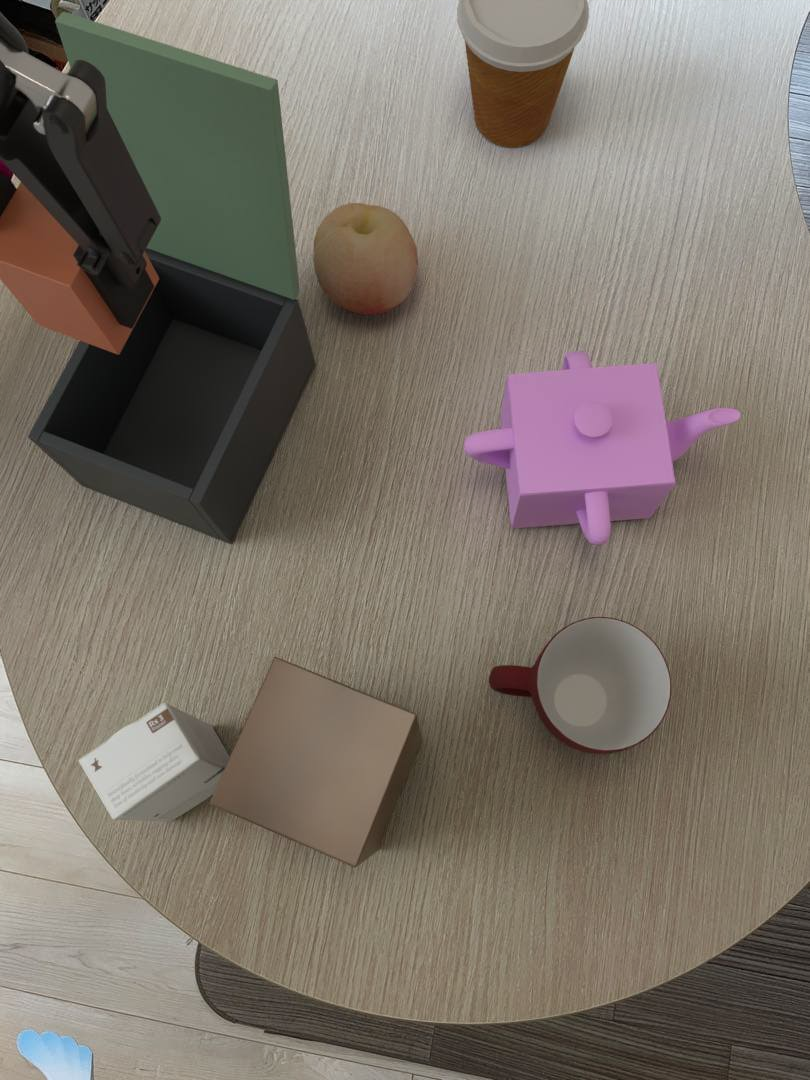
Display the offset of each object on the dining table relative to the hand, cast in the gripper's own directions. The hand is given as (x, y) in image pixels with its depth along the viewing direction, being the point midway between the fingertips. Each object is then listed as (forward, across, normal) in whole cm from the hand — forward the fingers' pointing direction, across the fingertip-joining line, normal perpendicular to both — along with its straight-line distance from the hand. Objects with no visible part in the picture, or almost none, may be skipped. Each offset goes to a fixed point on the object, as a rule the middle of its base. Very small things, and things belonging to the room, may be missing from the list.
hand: (89, 287), depth 50 cm
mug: (+23, +32, -8) cm, 40 cm away
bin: (+22, 0, +2) cm, 22 cm away
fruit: (+22, +7, +17) cm, 29 cm away
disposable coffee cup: (+22, +12, +36) cm, 44 cm away
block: (+2, 0, 0) cm, 2 cm away
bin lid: (+4, 0, +10) cm, 11 cm away
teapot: (+23, +28, +8) cm, 37 cm away
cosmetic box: (+22, +10, -22) cm, 33 cm away
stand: (+22, +20, -18) cm, 35 cm away
